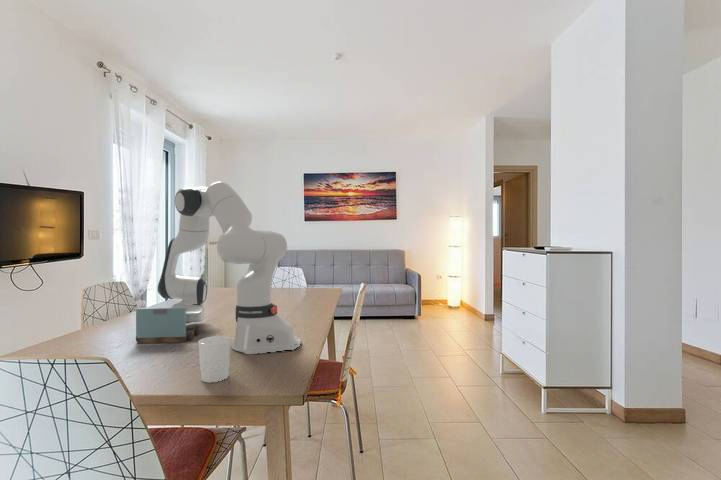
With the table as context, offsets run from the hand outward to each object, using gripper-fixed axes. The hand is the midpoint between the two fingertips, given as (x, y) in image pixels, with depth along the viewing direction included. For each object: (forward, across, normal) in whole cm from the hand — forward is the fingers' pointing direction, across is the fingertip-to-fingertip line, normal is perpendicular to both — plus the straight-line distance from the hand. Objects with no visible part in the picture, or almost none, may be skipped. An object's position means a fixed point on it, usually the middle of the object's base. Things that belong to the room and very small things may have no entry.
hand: (166, 320), depth 133 cm
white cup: (+39, +28, +7) cm, 49 cm away
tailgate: (+4, 0, +5) cm, 6 cm away
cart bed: (-3, 0, +7) cm, 7 cm away
